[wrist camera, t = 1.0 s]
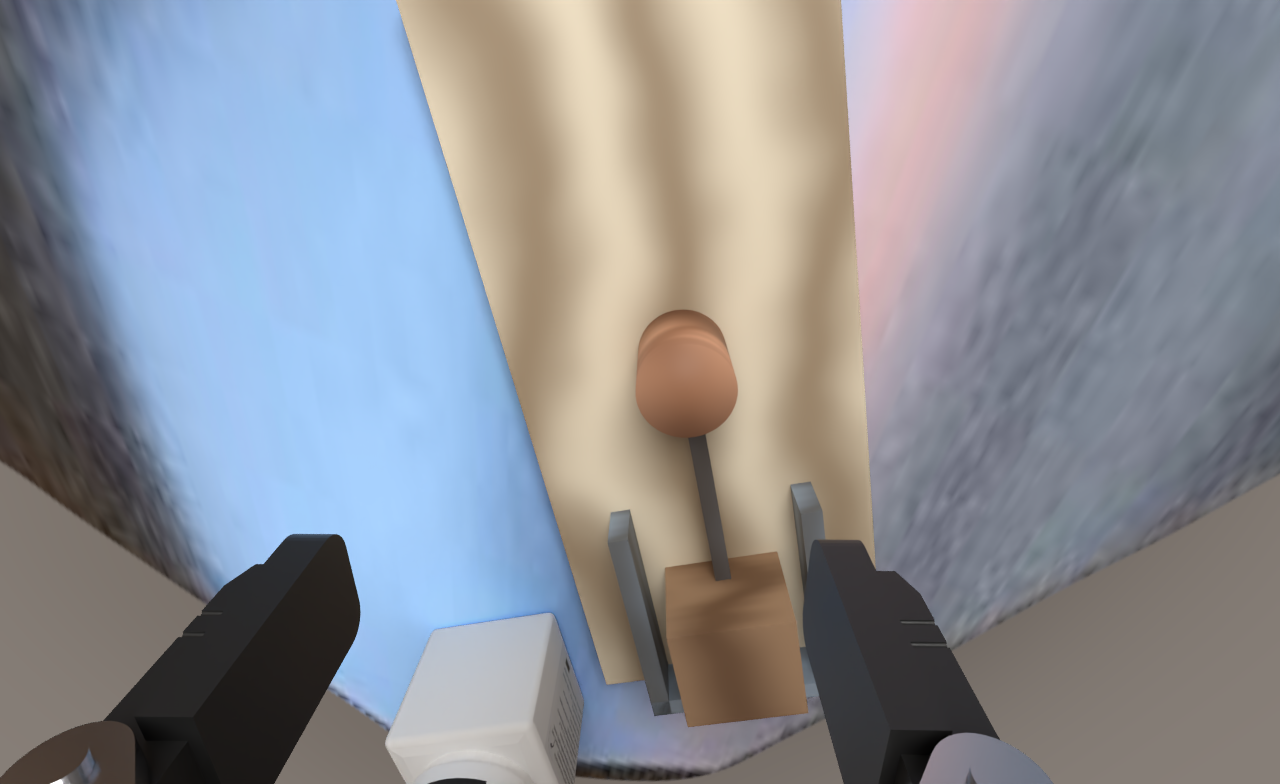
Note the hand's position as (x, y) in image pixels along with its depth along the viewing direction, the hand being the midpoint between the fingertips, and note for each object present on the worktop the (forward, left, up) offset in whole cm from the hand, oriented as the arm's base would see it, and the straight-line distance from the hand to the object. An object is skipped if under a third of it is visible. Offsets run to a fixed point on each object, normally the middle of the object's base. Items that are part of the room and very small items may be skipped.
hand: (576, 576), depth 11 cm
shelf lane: (-2, +5, -20) cm, 21 cm away
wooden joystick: (-2, +11, -18) cm, 22 cm away
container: (+12, +22, -20) cm, 32 cm away
